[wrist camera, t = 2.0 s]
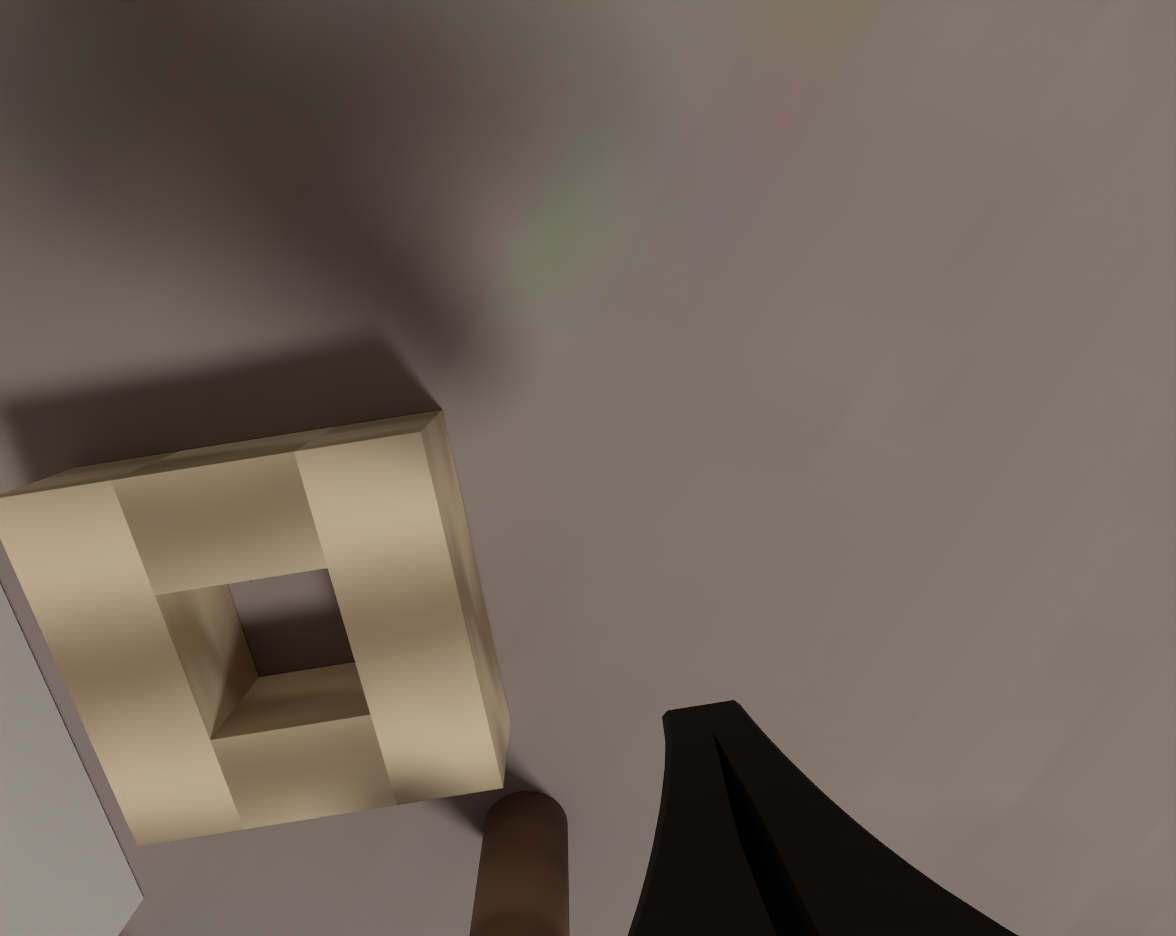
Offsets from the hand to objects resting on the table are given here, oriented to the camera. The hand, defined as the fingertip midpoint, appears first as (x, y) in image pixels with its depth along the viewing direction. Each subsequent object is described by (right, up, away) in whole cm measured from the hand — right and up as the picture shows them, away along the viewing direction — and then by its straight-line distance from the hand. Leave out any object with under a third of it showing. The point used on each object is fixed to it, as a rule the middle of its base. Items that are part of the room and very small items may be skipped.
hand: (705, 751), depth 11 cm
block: (-11, +1, +9) cm, 14 cm away
